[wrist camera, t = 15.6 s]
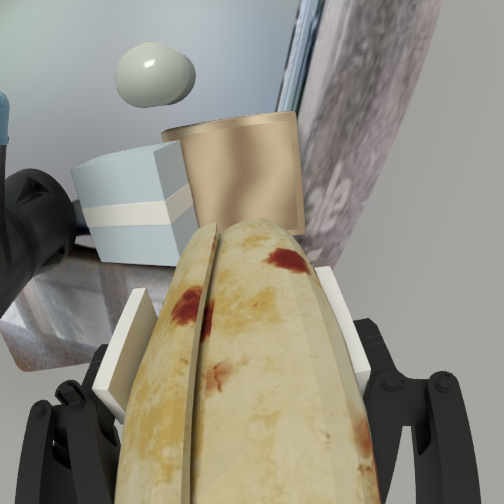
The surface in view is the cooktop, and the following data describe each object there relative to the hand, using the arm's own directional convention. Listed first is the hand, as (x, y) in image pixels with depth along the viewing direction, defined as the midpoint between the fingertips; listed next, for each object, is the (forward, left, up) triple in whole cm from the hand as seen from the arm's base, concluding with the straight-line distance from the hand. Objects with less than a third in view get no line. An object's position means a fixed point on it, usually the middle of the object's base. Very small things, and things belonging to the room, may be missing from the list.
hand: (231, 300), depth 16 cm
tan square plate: (0, 0, -23) cm, 23 cm away
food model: (0, 0, -5) cm, 5 cm away
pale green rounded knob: (-6, +13, -23) cm, 27 cm away
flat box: (-11, 0, -21) cm, 23 cm away
